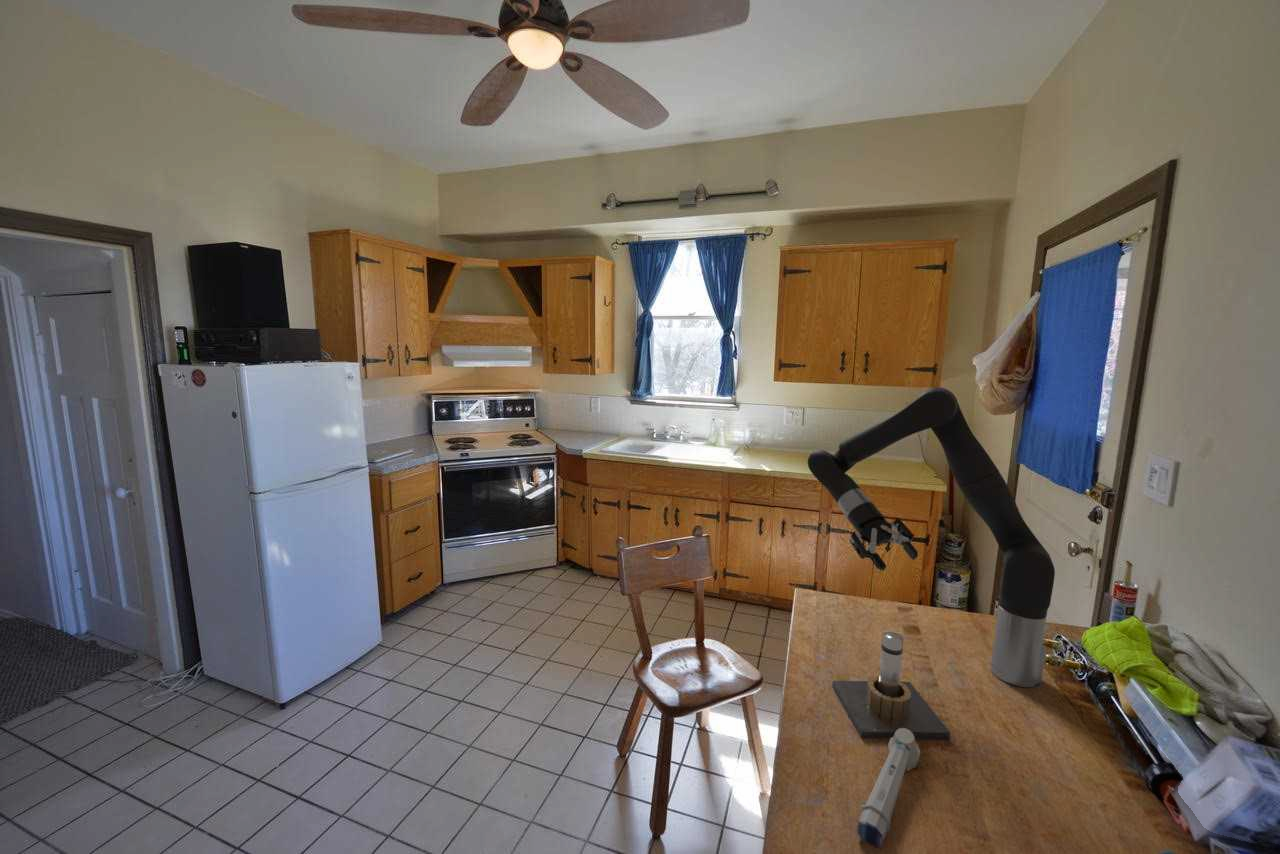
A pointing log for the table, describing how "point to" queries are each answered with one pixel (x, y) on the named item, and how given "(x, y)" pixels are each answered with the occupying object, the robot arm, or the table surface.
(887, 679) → the silver tall cylinder
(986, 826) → the table surface
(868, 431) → the robot arm
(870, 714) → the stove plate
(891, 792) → the grey faceted piece
